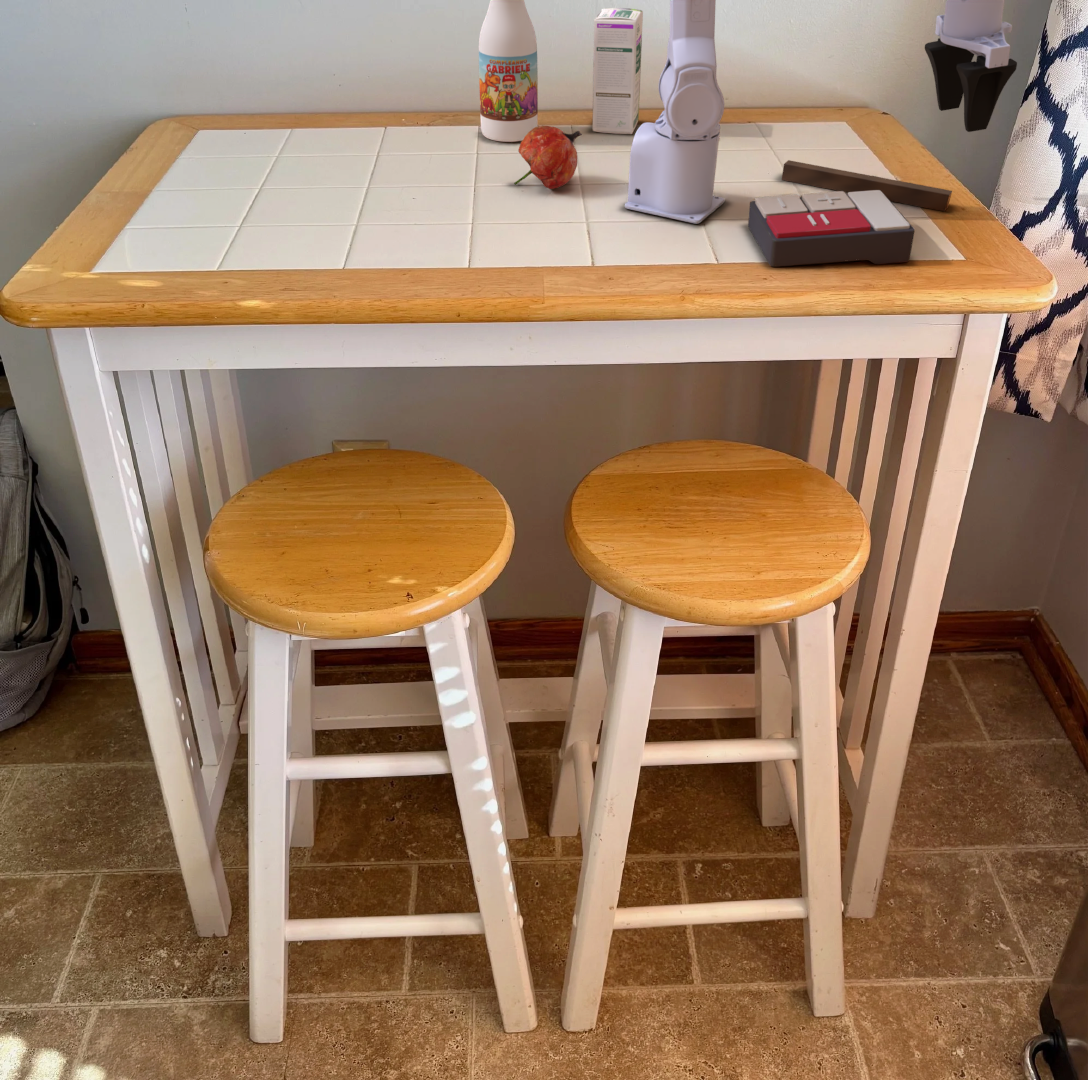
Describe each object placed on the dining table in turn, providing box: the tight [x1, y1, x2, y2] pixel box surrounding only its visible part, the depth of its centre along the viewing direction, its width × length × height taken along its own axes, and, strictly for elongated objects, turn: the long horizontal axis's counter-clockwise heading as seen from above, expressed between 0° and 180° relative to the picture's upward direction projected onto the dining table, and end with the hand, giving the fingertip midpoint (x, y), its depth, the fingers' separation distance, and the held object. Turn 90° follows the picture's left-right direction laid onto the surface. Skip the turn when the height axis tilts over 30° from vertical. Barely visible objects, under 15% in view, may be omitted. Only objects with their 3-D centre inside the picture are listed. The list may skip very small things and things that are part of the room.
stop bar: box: [781, 159, 953, 212], centre depth 125 cm, size 20×2×2 cm, turn 60°
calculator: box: [747, 190, 916, 268], centre depth 113 cm, size 11×4×15 cm
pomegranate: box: [513, 124, 583, 190], centre depth 125 cm, size 7×7×10 cm
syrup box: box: [591, 7, 644, 135], centre depth 140 cm, size 6×6×14 cm
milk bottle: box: [478, 0, 539, 143], centre depth 136 cm, size 8×8×20 cm
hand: (962, 119), depth 116 cm, fingers open, 7 cm apart
